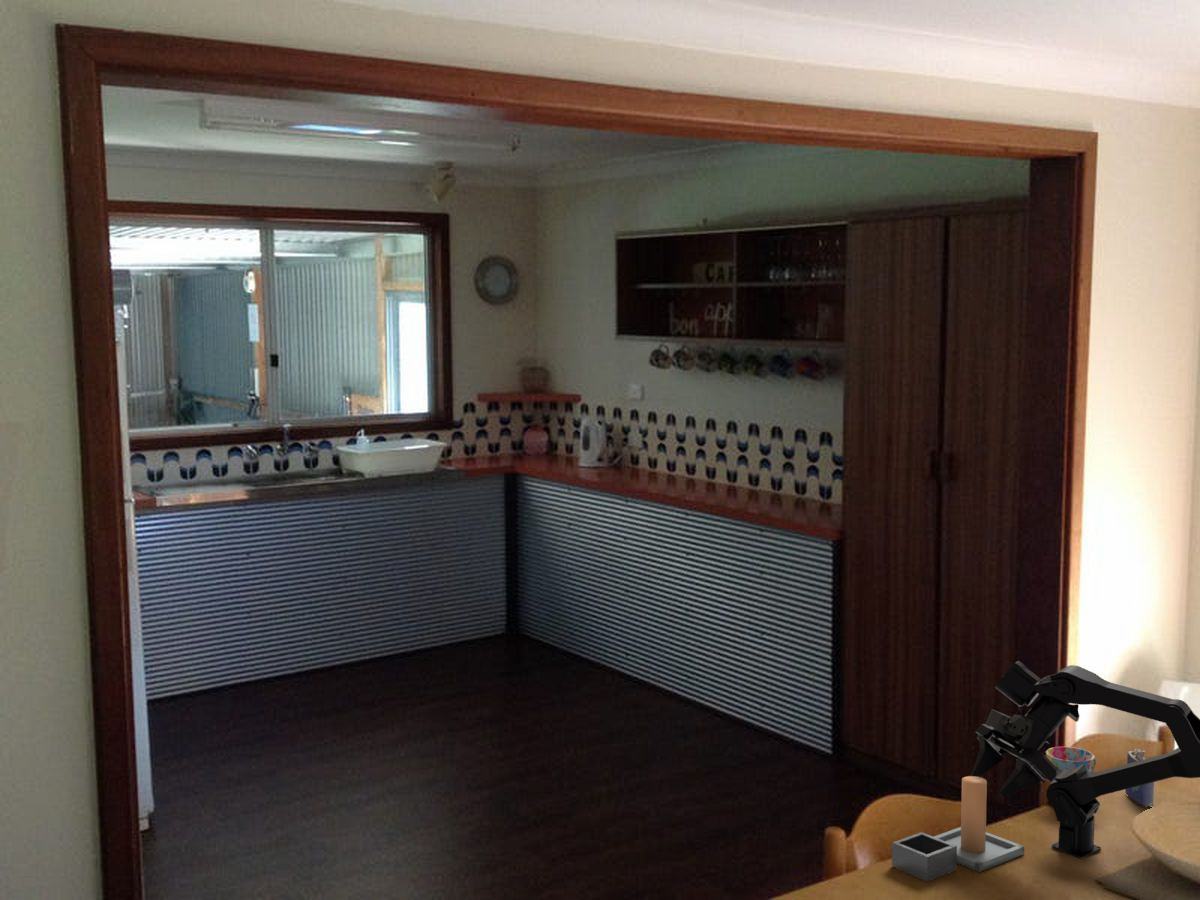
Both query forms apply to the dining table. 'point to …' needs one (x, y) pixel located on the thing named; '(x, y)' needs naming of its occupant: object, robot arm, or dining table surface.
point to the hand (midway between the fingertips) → (986, 786)
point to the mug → (1070, 758)
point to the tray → (992, 856)
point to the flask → (1143, 792)
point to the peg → (973, 814)
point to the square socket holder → (924, 856)
